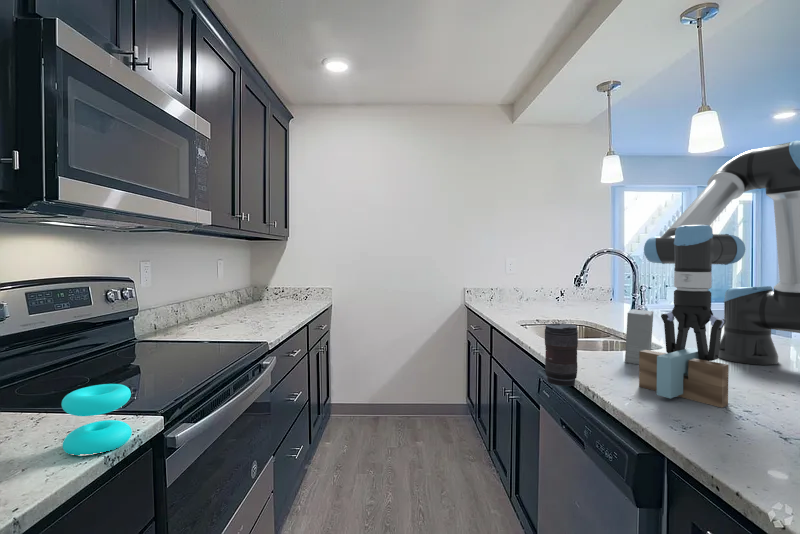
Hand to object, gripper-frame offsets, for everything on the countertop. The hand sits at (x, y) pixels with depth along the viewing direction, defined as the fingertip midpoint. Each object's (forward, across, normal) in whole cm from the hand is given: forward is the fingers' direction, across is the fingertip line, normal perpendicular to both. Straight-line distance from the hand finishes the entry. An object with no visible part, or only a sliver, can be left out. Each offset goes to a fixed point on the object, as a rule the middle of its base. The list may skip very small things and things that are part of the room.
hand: (690, 385), depth 105 cm
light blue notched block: (0, 0, -5) cm, 5 cm away
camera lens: (+2, -22, -20) cm, 30 cm away
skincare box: (+2, -23, +19) cm, 30 cm away
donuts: (+2, -42, -120) cm, 127 cm away
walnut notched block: (+1, 0, -5) cm, 5 cm away
